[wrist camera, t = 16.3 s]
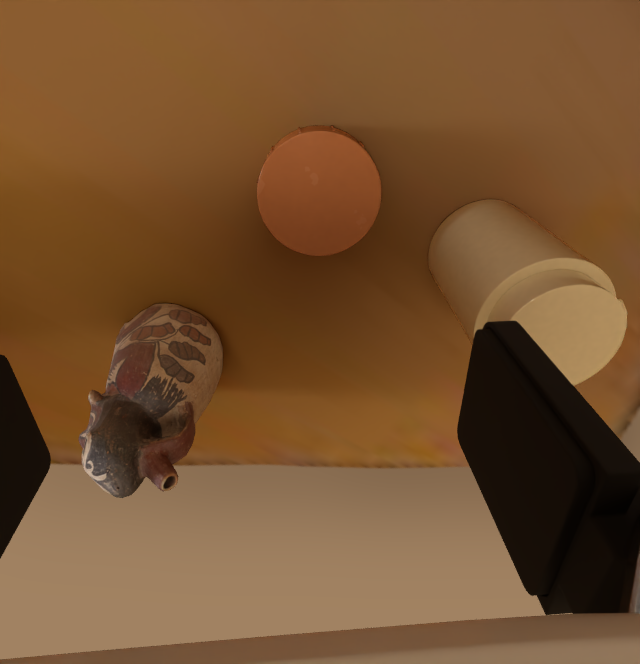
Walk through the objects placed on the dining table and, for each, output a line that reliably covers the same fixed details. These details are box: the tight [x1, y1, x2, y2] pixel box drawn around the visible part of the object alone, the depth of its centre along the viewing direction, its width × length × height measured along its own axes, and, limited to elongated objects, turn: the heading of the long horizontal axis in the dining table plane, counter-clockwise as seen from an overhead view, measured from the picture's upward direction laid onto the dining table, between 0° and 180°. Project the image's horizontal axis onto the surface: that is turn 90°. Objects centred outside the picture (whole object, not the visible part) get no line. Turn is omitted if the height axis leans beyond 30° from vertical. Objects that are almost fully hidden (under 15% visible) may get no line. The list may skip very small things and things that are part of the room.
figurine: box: [79, 303, 223, 498], centre depth 27 cm, size 7×7×12 cm
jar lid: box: [257, 125, 382, 256], centre depth 26 cm, size 7×7×2 cm
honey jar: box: [428, 199, 628, 386], centre depth 25 cm, size 7×7×11 cm
